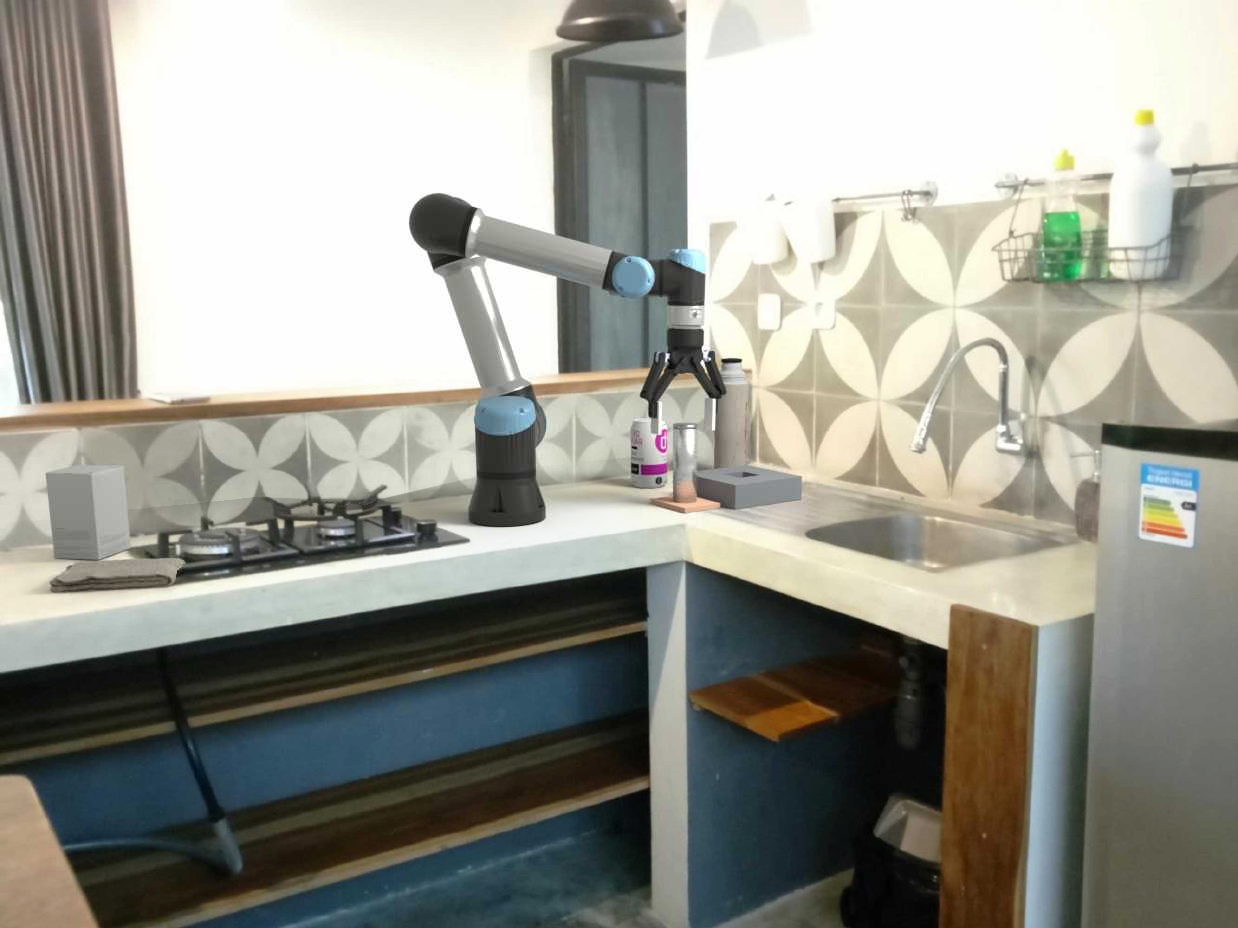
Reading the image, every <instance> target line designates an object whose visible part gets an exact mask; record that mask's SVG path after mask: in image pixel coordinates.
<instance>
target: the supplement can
mask: <svg viewBox="0 0 1238 928" xmlns="http://www.w3.org/2000/svg"><path fill="white" fill-rule="evenodd" d="M632 421H633V422H632V423H631V425H630V484H632V485H633V487H634V488H637V489H639V488H640V489H660V488H663V487H665V486H666V485H667V483H668V426H667V424H666V421H665V419H663V418H662V432H661V435H657V434H652V433H651V418H650V417H646V418H636V419H633V420H632Z"/></svg>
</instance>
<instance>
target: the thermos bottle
mask: <svg viewBox="0 0 1238 928" xmlns="http://www.w3.org/2000/svg"><path fill="white" fill-rule="evenodd" d="M720 362H721V368H720V370H719V372H720V375H721V377H722V380H723V383H724V385H725V388H726V391H727V393H726V394H725V395H722V398H721V399H718V412H717V414H715V430H713V432H714V434H713V435H714V444H713V445H714V447H713V469H718V468H726V467H734V466H742V465H749V464H748V463H749V461H748V459H749V397H750V396H749V395H750V394H749V393H750V392H749V388H750V387H749V385H750V383H749V382H748V381H747V374H746V371H744V370H743V364H742V362H743V358H738V357H737V358H736V357H727V358H726V357H725V358H721V360H720Z"/></svg>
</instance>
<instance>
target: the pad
mask: <svg viewBox="0 0 1238 928" xmlns="http://www.w3.org/2000/svg"><path fill="white" fill-rule="evenodd" d="M651 504H652V505H654V506H657V507H662V508H665V509H668V510H672V511H676V512H680V513H683V514H689V513H695V512H701V511H708V510H715V509H721V506H720V503H718V502H714V501H710V500H706V499H702V498H698V497H697V502H694V503H676V502H673V495H668V496H663V497H661V496H660V497H654V498H653V497H652V498H650V505H651Z"/></svg>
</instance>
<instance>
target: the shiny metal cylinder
mask: <svg viewBox="0 0 1238 928" xmlns="http://www.w3.org/2000/svg"><path fill="white" fill-rule="evenodd" d="M697 471H698V423H696V422H675V423H674V422H673V423H672V496H673V502H676V503H694V502H697Z"/></svg>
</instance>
